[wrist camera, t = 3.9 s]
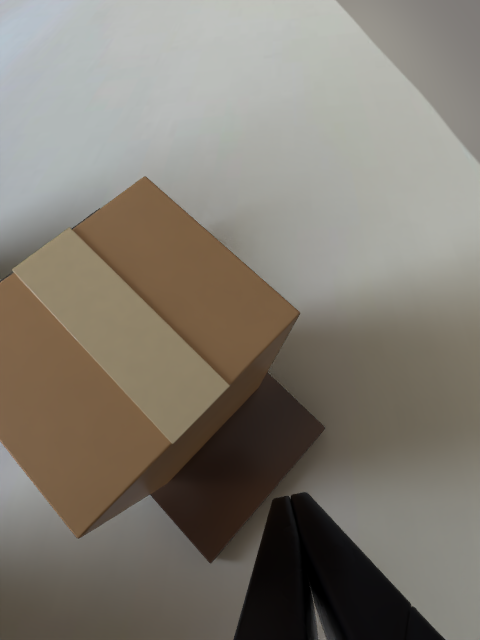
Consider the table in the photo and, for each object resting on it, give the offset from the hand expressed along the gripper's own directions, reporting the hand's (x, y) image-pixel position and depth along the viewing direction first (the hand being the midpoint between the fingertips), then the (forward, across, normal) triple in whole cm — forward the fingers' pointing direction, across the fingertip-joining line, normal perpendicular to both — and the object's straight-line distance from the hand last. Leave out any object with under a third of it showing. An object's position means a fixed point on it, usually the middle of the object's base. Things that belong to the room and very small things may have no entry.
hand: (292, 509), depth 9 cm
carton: (+11, +4, +3) cm, 12 cm away
